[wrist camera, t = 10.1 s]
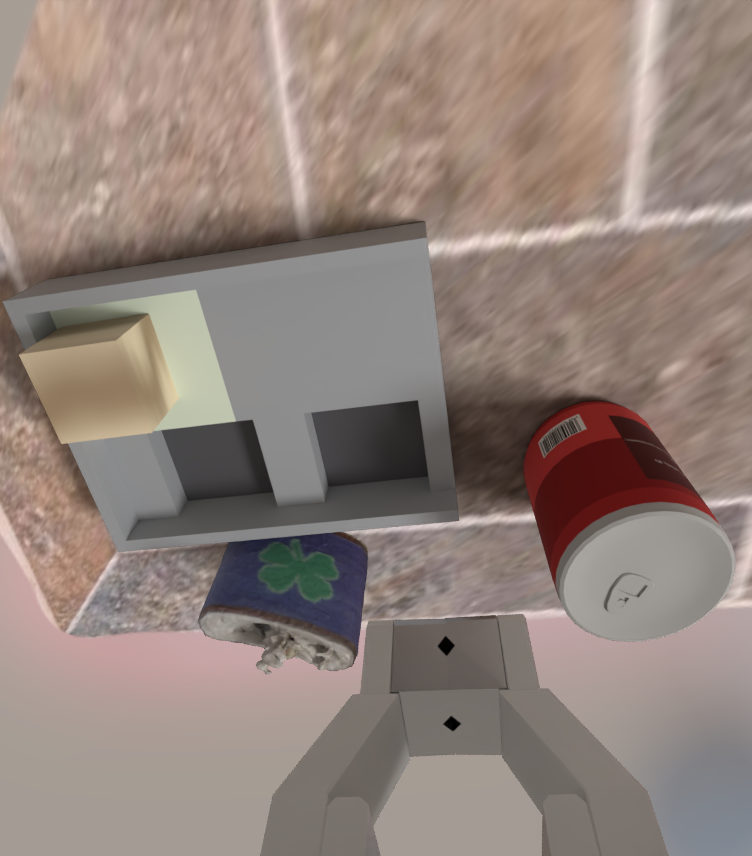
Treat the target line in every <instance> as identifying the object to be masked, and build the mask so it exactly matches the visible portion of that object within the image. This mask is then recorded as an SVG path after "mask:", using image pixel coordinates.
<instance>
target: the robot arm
mask: <svg viewBox="0 0 752 856" xmlns="http://www.w3.org/2000/svg"><path fill="white" fill-rule="evenodd" d="M455 753H456V754H458V755H459V754H461V755H502V757H503V759H504V761H505V762H506V763H507V764H508V766H509V767H510V769H511V771H512V772H513V773H514V775H515V776H516V778H517V779H518V781H519V782H520V783H521V785H522V786H523V788H524V789H525V791H526V792H527V793H528V795H529V796H530V798H531V799H532V801H533V802H534V804H535V805H536V806H537V808H538V809H539V811H540V812H541V814H542V815H543V820H542V856H668V853H667V850H666V846H665V843H664V840H663V837H662V834H661V831H660V828H659V825H658V822H657V819H656V816H655V812H654V809H653V807H652V803H651V800H650V797H649V794H648V791H647V790H646V789H645V788H644V787H643V786H642V785H641V784H640V783H639V782H638V781H637V780H636V779H635V778H634V777H633V776H632V775H631V774H630V773H629V772H628V771H627V770H626V769H625V768H624V767H623V766H622V764H621V763H620V762H619V761H617V759H616V758H615V757H614V756H613V755H612V754H611V753H610V752H609V751H608V750H607V749H606V748H605V747H604V746H603V745H602V744H601V743H600V742H599V741H598V740H597V739H596V738H595V737H594V736H593V734H592V733H590V732H589V730H588V729H587V728H586V727H585V726H584V725H583V724H582V723H581V722H580V721H579V720H578V719H577V718H576V717H575V716H574V715H573V714H572V713H571V712H570V711H569V710H568V709H567V708H566V707H565V706H564V704H563V703H561V701H560V700H559V699H558V698H557V697H556V696H555V695H554V694H553V693H552V692H551V691H550V690H549V689H540V687H539V682H538V677H537V672H536V667H535V662H534V657H533V652H532V647H531V642H530V637H529V632H528V627H527V622H526V618H525V617H524V615H523V614H515V615H497V617H496V615H490V616H473V617H456V618H445V619H413V620H383V621H369V622H368V625H367V628H366V638H365V649H364V660H363V670H362V681H361V692H360V694H356V695H352V696H351V697H350V699H349V700H348V701H347V702H346V704H345V705H344V706H343V707H342V709H341V710H340V712H339V713H338V714H337V715H336V716H335V718H334V719H333V720H332V721H331V723H330V724H329V725H328V726H327V728H326V729H325V730H324V731H323V733H322V734H321V735H320V736H319V738H318V739H317V740H316V741H315V743H314V744H313V745H312V747H311V748H310V749H309V750H308V751H307V753H306V754H305V755H304V756H303V758H302V759H301V760H300V761H299V763H298V764H297V765H296V767H295V768H294V770H292V772H291V773H290V774H289V775H288V777H287V778H286V779H285V780H284V782H283V783H282V784H281V786H280V787H279V788H278V789H277V791H276V792H275V793H274V794H273V796H272V802H271V806H270V811H269V816H268V821H267V826H266V830H265V835H264V840H263V845H262V850H261V854H260V856H380V852H379V848H378V844H377V840H376V835H375V831H374V827H373V825H374V824H375V822H376V820H377V818H378V817H379V815H380V813H381V811H382V809H383V807H384V806H385V804H386V802H387V800H388V799H389V797H390V795H391V793H392V791H393V790H394V788H395V786H396V784H397V782H398V781H399V779H400V777H401V775H402V773H403V772H404V770H405V768H406V766H407V764H408V763H409V761H410V757H413V756H432V755H454V754H455Z"/></svg>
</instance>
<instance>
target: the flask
mask: <svg viewBox="0 0 752 856" xmlns="http://www.w3.org/2000/svg"><path fill="white" fill-rule="evenodd" d="M367 553H368V551H367V546H365V544H364V543H363V542H362V541H360V540H358V539H357V538H355V537H353V536H351V535H349V534H346V533H343V532H333V533H322V534H311V535H300V536H289V537H278V538H267V539H256V540H245V541H234V542H229V544H228V547H227V549H226V551H225V554H224V556H223V559H222V562H221V565H220V567H219V570H218V572H217V574H216V577H215V579H214V581H213V584H212V586H211V589H210V591H209V594H208V596H207V599H206V601H205V603H204V606H203V608H202V610H201V613H200V616H199V619H198V622H199V625H200V628H201V629H202V631H203V632H204V634H205V635H206V636H208V637H211V638H213V639H217V640H223V641H231V642H235V643H244V644H248V645H252V646H259V647H263V648H264V649H265V651H264V653H263V654H262V660H261V661H259V662H257V664H256V666H257V668H258V669H260V670H262V671H264V672H265V674H271V671H270V670H268V669H267V667H268V666H272V667H274V668H279V667H284V666H283V663H282V662H284V661H285V659H287V660H288V659H291V658H293V657H295V658H300V659H303V660H305V661H307V662H308V663H310V664H314V665H315V666H317V667H318V669H319V670H324V669H326V670H330V671H338V670H340V669H342V670H343V669H346V668H349V667H352V665H353V664H354V661H355V659H356V656H357V654H358V643H359V636H360V629H361V620H362V608H363V602H364V591H365V583H366V576H367V560H368V554H367Z"/></svg>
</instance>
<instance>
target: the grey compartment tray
mask: <svg viewBox="0 0 752 856" xmlns="http://www.w3.org/2000/svg"><path fill="white" fill-rule="evenodd" d="M2 302H3V304H4V307H5V309H6V311H7V313H8V315H9V317H10V319H11V322H12V324H13V326H14V328H15V330H16V332H17V335H18V337H19V339H20V341H21V343H22V345H23V348H24V350H27V349H28V348H30V347H31V346H33V345H34V344H36V343H37V342H39V341H40V340H42V339H43V338H45V337H46V336H48V335H50V334H51V333H53V332H54V331H56V330H57V329H59V328H60V327H63V326H69V325H76V324H82V323H89V322H96V321H102V320H109V319H116V318H122V317H129V316H136V315H142V314H149V315H150V318H151V321H152V324H153V326H154V329H155V332H156V335H157V338H158V341H159V343H160V346H161V349H162V352H163V355H164V357H165V360H166V363H167V366H168V369H169V371H170V374H171V377H172V380H173V383H174V386H175V388H176V391H177V394H178V397H179V399H178V400H177V401H176V403H175V404H174V405H173V407H172V408H171V409H170V410H169V412H168V413H167V414H166V416H165V417H164V418H163V419H162V421H161V422H160V423H159V425H158V426H157V427H156V428H155V430H154V431H153V432H152V433H147V434H139V435H131V436H122V437H114V438H106V439H98V440H90V441H82V442H74V443H68V445H69V447H70V449H71V451H72V453H73V456H74V458H75V460H76V462H77V464H78V466H79V469H80V471H81V473H82V475H83V477H84V479H85V481H86V484H87V486H88V488H89V490H90V492H91V494H92V497H93V499H94V501H95V503H96V505H97V507H98V510H99V512H100V514H101V516H102V518H103V520H104V523H105V525H106V527H107V529H108V531H109V533H110V535H111V538H112V540H113V542H114V544H115V546H116V548H117V551H118V552H126V551H136V550H147V549H158V548H169V547H180V546H191V545H202V544H213V543H224V542H234V541H245V540H256V539H267V538H278V537H289V536H300V535H311V534H322V533H333V532H343V531H354V530H365V529H376V528H387V527H398V526H409V525H420V524H431V523H442V522H452V521H459V514H458V505H457V496H456V486H455V477H454V469H453V460H452V451H451V442H450V434H449V425H448V416H447V407H446V399H445V390H444V381H443V372H442V364H441V355H440V346H439V337H438V329H437V320H436V311H435V302H434V294H433V285H432V276H431V267H430V258H429V250H428V241H427V232H426V223H425V222H419V223H413V224H406V225H400V226H393V227H387V228H380V229H374V230H367V231H361V232H354V233H348V234H341V235H335V236H328V237H321V238H315V239H308V240H302V241H295V242H289V243H282V244H276V245H269V246H263V247H256V248H250V249H243V250H237V251H230V252H224V253H217V254H211V255H204V256H198V257H191V258H185V259H178V260H172V261H165V262H159V263H152V264H146V265H139V266H133V267H126V268H120V269H113V270H107V271H100V272H94V273H87V274H81V275H74V276H68V277H61V278H55V279H48V280H44V281H42V282H40V283H38V284H36V285H34V286H32V287H30V288H28V289H26V290H24V291H22V292H20V293H18V294H16V295H14V296H12V297H10V298H8V299H6V300H4V301H2Z"/></svg>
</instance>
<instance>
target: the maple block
mask: <svg viewBox="0 0 752 856" xmlns="http://www.w3.org/2000/svg"><path fill="white" fill-rule="evenodd" d="M19 356H20V358H21V360H22V363H23V365H24V367H25V369H26V371H27V373H28V375H29V377H30V379H31V381H32V383H33V386H34V388H35V390H36V392H37V394H38V396H39V398H40V400H41V402H42V404H43V407H44V409H45V411H46V413H47V415H48V417H49V419H50V421H51V423H52V425H53V427H54V430H55V432H56V434H57V436H58V438H59V440H60V442H61V444H66V443H74V442H82V441H90V440H98V439H106V438H114V437H122V436H131V435H139V434H147V433H152V432H153V431H154V430H155V428H156V427H157V426H158V425H159V423H160V422H161V421H162V419H163V418H164V417H165V416H166V414H167V413H168V412H169V410H170V409H171V408H172V407H173V405H174V404H175V403H176V401H177V400H178V399H179V397H178V394H177V391H176V388H175V386H174V383H173V380H172V377H171V374H170V371H169V369H168V366H167V363H166V360H165V357H164V355H163V352H162V349H161V346H160V343H159V341H158V338H157V335H156V332H155V329H154V326H153V324H152V321H151V318H150V315H149V314H142V315H136V316H129V317H122V318H116V319H109V320H102V321H96V322H89V323H82V324H76V325H69V326H63V327H60V328H59V329H57V330H56V331H54V332H53V333H51V334H50V335H48V336H46V337H45V338H43V339H42V340H40V341H39V342H37V343H36V344H34V345H33V346H31V347H30V348H28V349H27V350H25V351H24V352H22V353H20V354H19Z"/></svg>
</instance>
